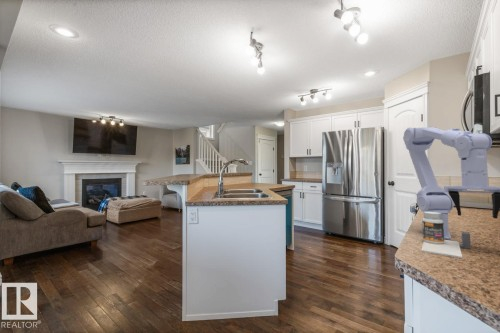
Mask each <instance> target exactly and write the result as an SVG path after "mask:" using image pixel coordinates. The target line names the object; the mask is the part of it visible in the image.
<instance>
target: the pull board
mask: <svg viewBox="0 0 500 333" xmlns="http://www.w3.org/2000/svg"><path fill="white" fill-rule="evenodd" d="M470 233H471V232H468V231H461V243H460V242H459V241H457V240H451V239H444V243H443V244H434V243H429V242H426V241H424V240H423V242H422V246H421V252H422V253H427V254H433V255H440V256H445V257H450V258H451V257H452V258H458V259H463V255H462V252H461V250H462V249H461V248H463V249H469V250H471V246H472V245H471V234H470Z"/></svg>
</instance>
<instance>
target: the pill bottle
mask: <svg viewBox="0 0 500 333" xmlns="http://www.w3.org/2000/svg"><path fill="white" fill-rule="evenodd" d="M424 216H425V218H424ZM441 217H442V216H441V213H438V212H423V218H422V221H421V225H422V240H423V242H424V241H426V242H429V243H434V244H443V243H444V240H445V238H444V222H443V220H441Z"/></svg>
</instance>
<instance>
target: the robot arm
mask: <svg viewBox="0 0 500 333" xmlns="http://www.w3.org/2000/svg"><path fill="white" fill-rule="evenodd" d="M402 139H403V143H404V145H405V148H406V150H408V153H409V156H410V158H411V159H410V160H411V162H412V164H413V167H414V170H415V173H416V176H417V179H418V181H419V182H418V183H419V185H420V187H421V189H420V190H418V191H417V193H416V194H415V196H416V199H417V200H416V203H417V207H418V208H419V209H420V211H421V212H423V213H424V212H438V213H441V216H442V217H441V220H443V222H444V240H452V236H451V232H450V231H449V230H450V229H449V214H450V213H451V211H452V210H453V209H454V206H455V208H456V211H457V216H459V217H461V216H462V211H461V205H460V204H461V202H460V199H461V198H460V197H461V196H460V193H469V194H470V193H473V194H491V203H492V215H491V216H492V218H493V219H498V216H499V211H500V186H489V176H488V175H489V174H488V172H489V171H488V159H487V158H488V157H487V154H488V153H487V151H488V150H489V149H490V148H492V145H493V140H492V138H491V136H490V135H489V134H486V133H484V132H481V133H472V131H470V130H465V131H464V130H463V131H462V130H460V128H459V127H454V128H453V127H452V128H451V129H447V130H445V129H440V128H437V127H435V126H429V127H407V128H406V129H405V130H404V133H403V138H402ZM435 140H440V142H441V143H442V144H443V145H445V146H448V147H451V148H453V149H455V151H457V153H458V154H457V155H458V158H460V169H461V185H444V186H443V187H441V186H440V185H439V184H438V182H437V178H436V177H435V173H434V171H433V169H432V166H431V163H430V161H429V158H428V156H427V152H426V151H427V150H429V149H430V148H431V146H432V145H433V143H434V141H435ZM423 218H425V216H424V215H423Z"/></svg>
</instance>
